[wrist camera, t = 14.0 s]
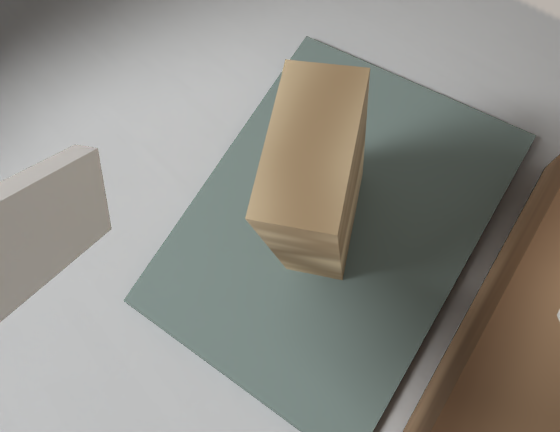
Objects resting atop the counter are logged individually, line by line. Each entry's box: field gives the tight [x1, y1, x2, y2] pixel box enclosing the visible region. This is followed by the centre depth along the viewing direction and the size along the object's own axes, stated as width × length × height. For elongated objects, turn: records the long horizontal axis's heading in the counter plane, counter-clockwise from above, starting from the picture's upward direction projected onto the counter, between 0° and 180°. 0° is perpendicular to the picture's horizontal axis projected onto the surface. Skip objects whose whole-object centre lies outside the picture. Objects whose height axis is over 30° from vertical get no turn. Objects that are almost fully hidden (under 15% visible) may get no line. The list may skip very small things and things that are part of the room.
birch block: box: [245, 59, 370, 280], centre depth 16 cm, size 2×5×8 cm, turn 167°
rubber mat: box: [124, 36, 536, 432], centre depth 20 cm, size 12×16×1 cm
